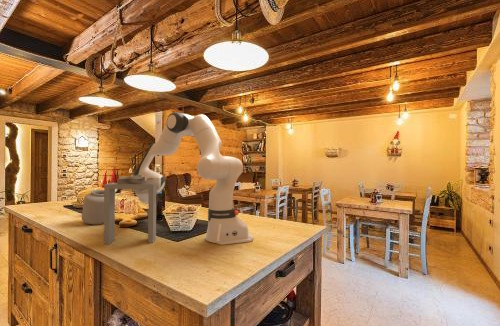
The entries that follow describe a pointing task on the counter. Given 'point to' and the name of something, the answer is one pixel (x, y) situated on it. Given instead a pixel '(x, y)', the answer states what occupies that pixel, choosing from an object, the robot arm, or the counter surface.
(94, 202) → the jar
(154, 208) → the stand
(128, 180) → the hook tool
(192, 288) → the counter surface
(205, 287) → the counter surface
